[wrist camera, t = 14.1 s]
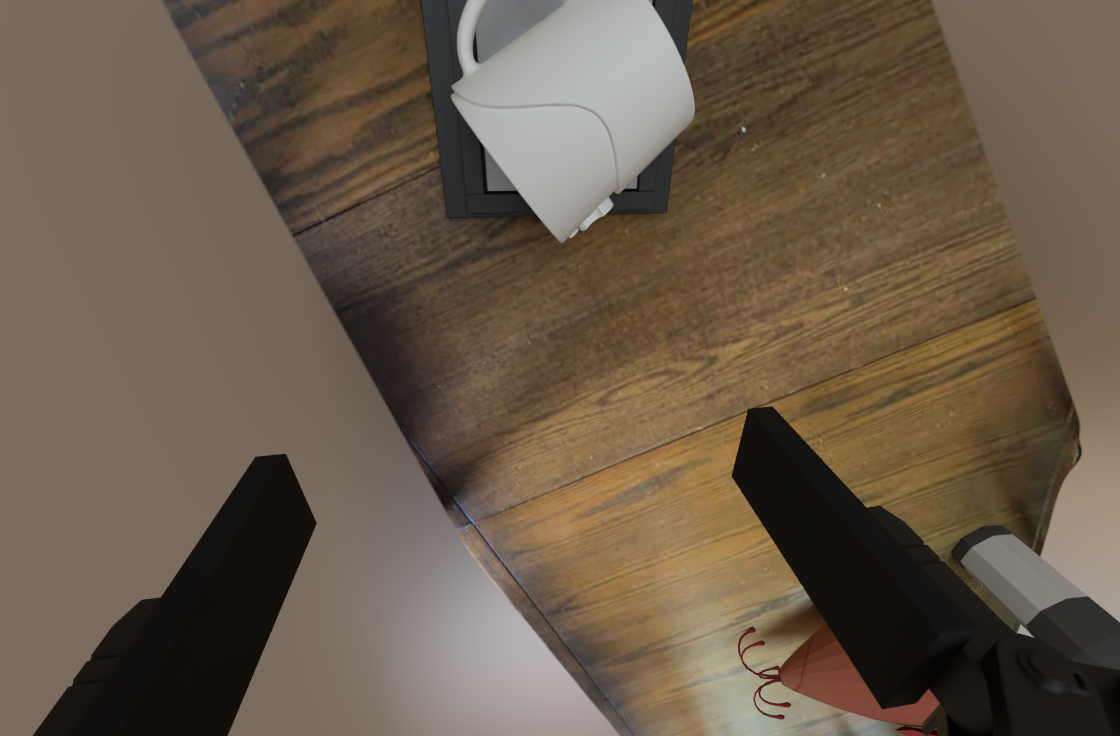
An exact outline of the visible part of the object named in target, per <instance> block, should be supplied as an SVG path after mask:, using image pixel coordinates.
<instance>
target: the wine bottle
mask: <svg viewBox="0 0 1120 736" xmlns="http://www.w3.org/2000/svg"><path fill="white" fill-rule="evenodd" d="M952 553H953V555H954V556H955V558H956V560H957V561H958V562H959V563H960V565H961V566H962V567H963V568H964V569H965V570H966V571H967V572H968V573H969V574H970V575H971V576H972V577H973V578H974V579H975V580H976V581H977V582H978V583H979V584H980V585H981V586H983V587H984V588H985V589H986V590H987V591H988V592H989V593H990V594H991V595H992V596H993V597H994V598H995V599H996V600H997V601H998V602H999V603H1000V604H1001V605H1002V606H1003V607H1004V608H1005V609H1006V610H1007V611H1008V612H1009V613H1010V614H1011V615H1012V616H1013V617H1014V618H1015V619H1016V620H1017V621H1018V622H1019V623H1020V624H1021V625H1022V626H1023V627H1025V629H1026V630H1028V632H1029V633H1031V635H1033V636H1034V637H1035V638H1037V639H1039V640H1041V641H1043V642H1045V643H1046V644H1048V645H1050V646H1052V647H1054V648H1056V649H1057V650H1059V651H1060V652H1061V653H1063V654H1064V655H1065V656H1067V657H1068V658H1069V659H1071V660H1072V661H1074V662H1080V663H1085V664H1090V665H1096V666H1101V667H1106V668H1112V669H1117V670H1120V622H1118V621H1117V620H1116V619H1115V618H1113V617H1112V616H1111V615H1110V614H1109V613H1107V612H1106V611H1105V610H1104V609H1103V608H1101V607H1100V606H1099V605H1098V604H1097V603H1095V602H1094V601H1093V600H1092V599H1090V598H1089V597H1088V596H1087V595H1086V594H1084V593H1083V592H1082V591H1081V590H1080V589H1078V588H1077V587H1076V586H1075V585H1073V584H1072V583H1071V582H1070V581H1068V580H1067V579H1066V578H1065V577H1064V576H1063V575H1061V574H1060V573H1059V572H1058V571H1056V570H1055V569H1054V568H1053V567H1052V566H1050V565H1049V564H1048V563H1047V562H1046V561H1044V560H1043V559H1042V558H1041V557H1039V556H1038V555H1037V554H1036V553H1035V552H1033V551H1032V550H1031V549H1030V548H1029V547H1027V546H1026V545H1025V544H1024V543H1022V542H1021V541H1020V540H1019V539H1018V538H1016V537H1015V536H1014V535H1013V534H1011V533H1010V532H1009V531H1008V530H1006V529H1005V528H1003V527H1002V526H992V527H982V528H980V529H979V530H977V531H975V532H973V533H971V534H969V535H967V536H965V537H964V538H962V539H961V540H960V542H959V543H958V544H957V546H956V547H955V548H954V550H953V551H952Z"/></svg>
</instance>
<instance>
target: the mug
mask: <svg viewBox="0 0 1120 736" xmlns="http://www.w3.org/2000/svg"><path fill="white" fill-rule="evenodd" d="M490 1H491V0H467V2H466V5H465V7H464V9H463V12H462V15H461V18H460V22H459V26H458V32H457V53H458V58H459V62H460V65H461V68H462V70H463V77H462V78H461V79H460V80H459V81H457V82H456V83H455V84H453V85H452V86H451V87H452V89H453V91H454V92H455V93H453V94H452V95H451V99H452V101H453V103H454V104H455V106H456V107H457V109H458V111H459V112H460V113H461V115H462V116H463V118H464V119H465V121H466V122H467V124H468V125H469V126H470V128H471V129H472V131H473V132H474V133H475V135H476V136H477V138H478V139H479V140H480V142H481V143H482V144H483V146H484V147H485V149H486V150H487V151H488V153H489V154H490V155H491V157H492V158H493V159H494V161H495V162H496V163H497V165H498V166H499V167H500V169H501V170H502V171H503V173H504V174H505V175H506V177H507V178H508V179H509V180H510V182H511V183H512V184H513V186H514V187H515V188H516V190H517V191H518V192H519V193H520V195H521V196H522V197H523V198H524V200H525V201H526V202H527V204H528V205H529V206H530V207H531V209H532V210H533V211H534V212H535V214H536V215H537V216H538V217H539V219H540V220H541V221H542V222H543V223H544V225H545V226H546V227H547V228H548V229H549V231H550V232H551V233H552V234H553V235H554V236H555V237H556V238H557V240H558V241H560V242H561V243H563V242H564V241H565V240H566V239H567V238H568V237H570V238H572V237H573V236H574V235H575V234H576V233H577V232H578V230H579V228H580V230H581V231H584V230H586V229H587V228H588V227H589V226H590V224H591V223H593V222H594V221H595V220H596V219H598V218H600V217H602V216H605V215H606V214H607V213H608V212H609V210H610V209H611V208H612V207H613V205H614V204H613V203H612V201H611V200H610V198H609V196H610V195H611V194H612V193H613V192H615V193H616V194H620V193H621V192H622V191H623V190H624V189H625V188H626V187H627V186H628V185H629V184H630V183H631V182H632V181H633V180H634V179H635V178H636V177H637V176H638V175H639V174H640V173H641V172H642V171H643V170H644V169H645V168H646V167H647V166H648V165H649V164H650V163H651V162H652V161H653V160H654V159H655V158H656V157H657V156H658V155H659V154H660V153H661V152H662V151H663V150H664V149H665V148H666V147H667V146H668V145H669V144H670V143H671V142H672V141H673V140H674V139H675V138H676V137H677V136H678V135H679V134H680V133H681V132H682V131H683V130H684V129H685V128H686V127H687V126H688V125H689V124H690V123H691V121H692V120H693V117H694V112H695V105H694V97H693V92H692V88H691V84H690V81H689V78H688V75H687V72H686V69H685V66H684V64H683V61H682V59H681V57H680V54H679V52H678V50H677V48H676V46H675V44H674V42H673V40H672V38H671V36H670V34H669V32H668V30H667V28H666V27H665V25H664V23H663V21H662V20H661V18H660V17H659V15H658V13H657V12H656V10H655V9H654V7H653V6H652V5H651V3H650V2H649V0H563V5H562V6H561V7H560V8H558V9H557V10H555V11H554V12H553V13H551V14H550V15H549V16H547V17H546V18H544V19H543V20H542V21H540V22H539V23H537V24H536V25H535V26H533V27H532V28H531V29H529V30H528V31H526V32H525V33H524V34H522V35H521V36H519V37H518V38H517V39H515V40H514V41H513V42H511V43H510V44H508V45H507V46H506V47H504V48H503V49H502V50H500V51H499V52H497V53H496V54H495V55H493V56H492V57H490V58H489V59H488V60H486V61H485V62H484V63H482V64H479V63H477V62H476V61H475V60H474V57H473V40H474V35H475V31H476V28H477V25H478V23H479V20H480V18H481V16H482V14H483V12H484V11H485V9H486V7H487V6H488V4H489V3H490ZM578 227H579V228H578Z"/></svg>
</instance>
